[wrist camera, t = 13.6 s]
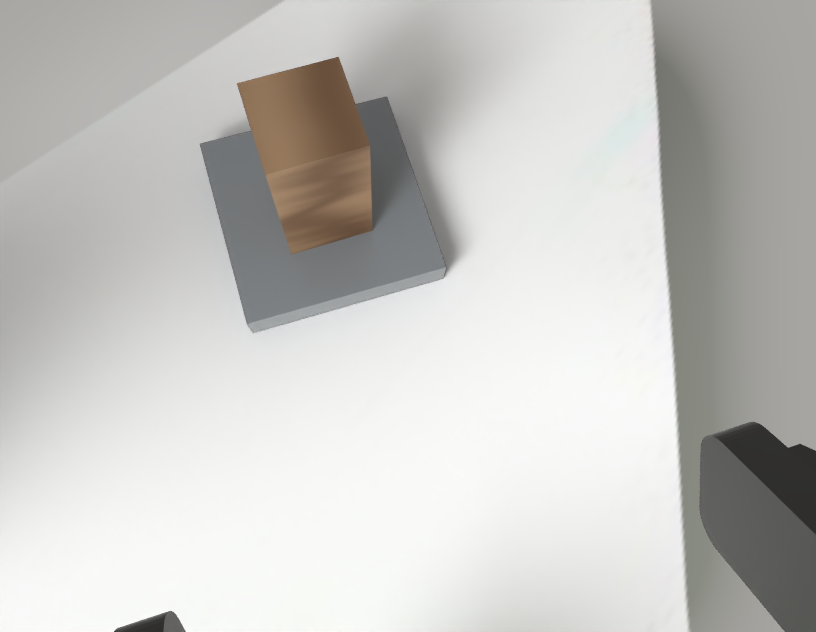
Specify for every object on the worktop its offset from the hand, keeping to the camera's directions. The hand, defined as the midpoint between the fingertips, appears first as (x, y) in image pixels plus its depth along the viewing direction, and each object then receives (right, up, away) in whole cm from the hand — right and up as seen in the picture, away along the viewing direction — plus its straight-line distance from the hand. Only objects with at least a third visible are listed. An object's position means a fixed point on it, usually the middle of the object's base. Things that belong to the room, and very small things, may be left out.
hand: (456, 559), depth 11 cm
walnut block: (-6, +10, +33) cm, 35 cm away
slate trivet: (-6, +10, +35) cm, 36 cm away
